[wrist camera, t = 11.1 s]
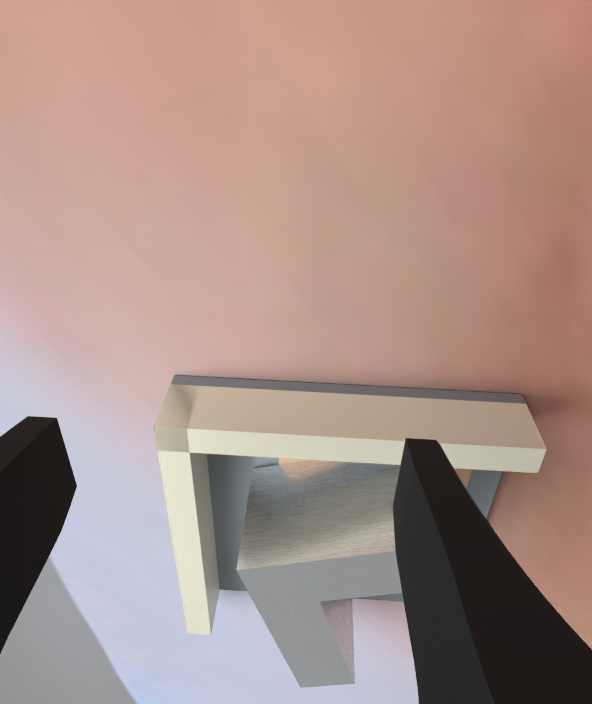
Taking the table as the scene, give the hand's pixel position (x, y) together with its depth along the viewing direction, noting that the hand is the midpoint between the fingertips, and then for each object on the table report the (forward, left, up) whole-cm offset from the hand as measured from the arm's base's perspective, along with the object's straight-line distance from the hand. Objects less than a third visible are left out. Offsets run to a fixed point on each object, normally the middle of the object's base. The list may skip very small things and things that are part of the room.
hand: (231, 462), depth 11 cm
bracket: (-4, +13, -9) cm, 16 cm away
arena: (-3, +12, -9) cm, 16 cm away
